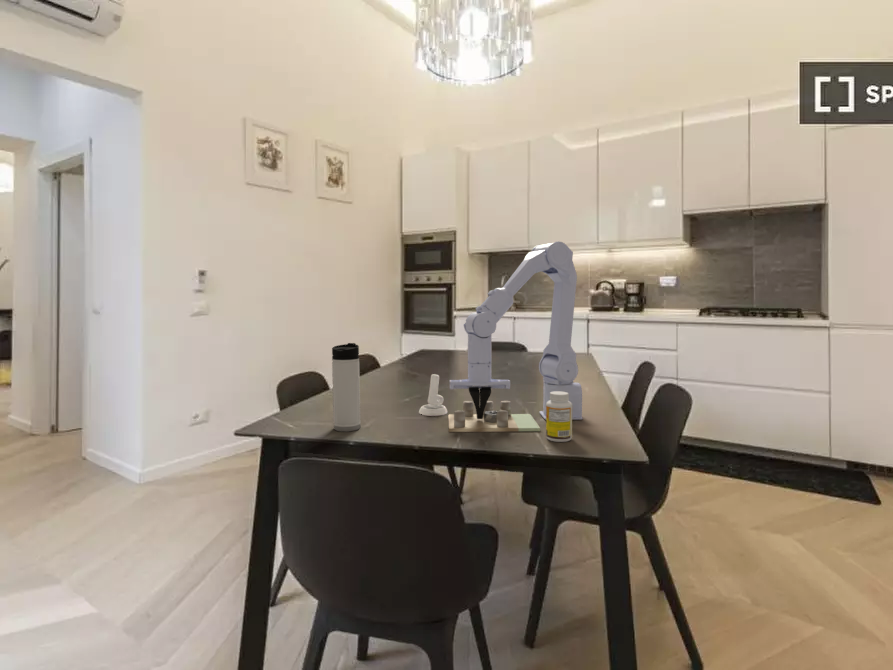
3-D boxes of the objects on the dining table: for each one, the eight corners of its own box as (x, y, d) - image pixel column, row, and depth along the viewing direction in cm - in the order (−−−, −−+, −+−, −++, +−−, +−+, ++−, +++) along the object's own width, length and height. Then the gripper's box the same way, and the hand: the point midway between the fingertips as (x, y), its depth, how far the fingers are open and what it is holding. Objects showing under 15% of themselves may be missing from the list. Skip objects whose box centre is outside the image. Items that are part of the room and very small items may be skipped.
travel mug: (365, 425, 127) (364, 343, 126) (352, 432, 121) (350, 346, 120) (343, 423, 129) (341, 342, 128) (328, 430, 123) (326, 345, 122)
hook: (445, 387, 150) (452, 376, 144) (442, 426, 143) (450, 417, 138) (419, 382, 148) (425, 371, 142) (416, 422, 142) (422, 412, 136)
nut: (499, 418, 131) (499, 410, 131) (505, 422, 127) (505, 413, 127) (481, 419, 130) (481, 411, 129) (486, 423, 126) (486, 414, 126)
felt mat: (530, 416, 135) (530, 414, 135) (540, 431, 121) (540, 428, 121) (510, 417, 135) (510, 414, 135) (518, 431, 121) (518, 428, 121)
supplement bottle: (553, 434, 119) (554, 389, 118) (576, 438, 115) (577, 392, 114) (541, 439, 115) (541, 393, 114) (564, 444, 111) (564, 396, 110)
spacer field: (510, 417, 135) (510, 400, 135) (518, 431, 121) (518, 412, 121) (448, 417, 135) (448, 400, 135) (448, 431, 121) (448, 413, 121)
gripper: (507, 360, 131) (507, 413, 132) (449, 360, 131) (449, 414, 132) (511, 364, 124) (511, 420, 125) (449, 364, 124) (450, 421, 125)
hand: (479, 418), depth 128 cm, fingers closed
